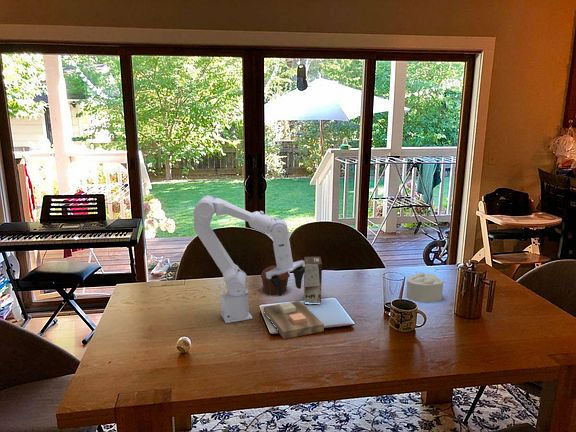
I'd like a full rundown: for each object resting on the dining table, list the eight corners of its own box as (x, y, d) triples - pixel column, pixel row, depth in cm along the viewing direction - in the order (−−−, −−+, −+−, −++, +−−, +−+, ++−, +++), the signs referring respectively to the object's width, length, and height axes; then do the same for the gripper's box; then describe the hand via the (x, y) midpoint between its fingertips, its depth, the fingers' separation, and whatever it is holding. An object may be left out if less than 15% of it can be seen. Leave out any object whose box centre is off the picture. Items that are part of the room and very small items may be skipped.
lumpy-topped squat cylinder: (444, 301, 171) (446, 279, 169) (412, 303, 168) (414, 282, 166) (431, 290, 181) (433, 270, 179) (401, 293, 178) (402, 272, 176)
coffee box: (321, 305, 167) (322, 264, 163) (304, 305, 167) (304, 263, 163) (320, 295, 176) (321, 256, 172) (303, 295, 176) (304, 256, 172)
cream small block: (283, 316, 155) (283, 309, 154) (279, 310, 159) (279, 304, 158) (295, 314, 156) (295, 307, 156) (291, 308, 160) (291, 302, 160)
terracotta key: (293, 327, 147) (293, 320, 146) (288, 321, 151) (288, 314, 150) (306, 325, 148) (306, 318, 148) (300, 319, 152) (301, 312, 152)
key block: (283, 339, 142) (283, 331, 142) (263, 313, 160) (263, 306, 160) (323, 331, 147) (323, 324, 147) (299, 307, 165) (299, 300, 165)
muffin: (256, 294, 177) (256, 270, 175) (266, 284, 187) (265, 261, 185) (285, 297, 174) (285, 273, 171) (293, 287, 184) (293, 264, 182)
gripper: (270, 263, 147) (276, 301, 150) (307, 251, 153) (312, 287, 156) (260, 259, 153) (267, 295, 156) (296, 247, 159) (302, 282, 162)
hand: (289, 291), depth 156 cm, fingers open, 7 cm apart
